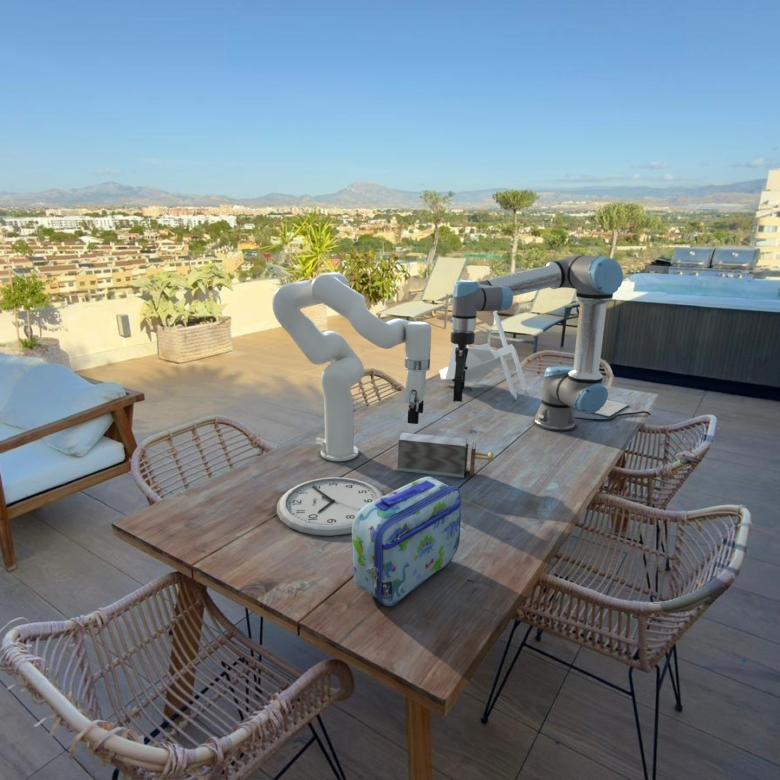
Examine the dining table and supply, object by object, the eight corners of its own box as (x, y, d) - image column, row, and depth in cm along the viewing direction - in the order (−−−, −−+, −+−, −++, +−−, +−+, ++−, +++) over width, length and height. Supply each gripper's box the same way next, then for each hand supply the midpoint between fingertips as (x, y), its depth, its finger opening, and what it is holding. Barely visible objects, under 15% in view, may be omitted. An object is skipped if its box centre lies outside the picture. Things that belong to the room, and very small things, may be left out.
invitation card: (608, 416, 214) (573, 407, 224) (608, 416, 214) (573, 408, 224) (628, 404, 229) (594, 396, 238) (628, 405, 229) (594, 397, 238)
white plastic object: (461, 429, 252) (437, 405, 227) (444, 352, 274) (420, 323, 250) (535, 404, 240) (518, 377, 215) (510, 326, 262) (492, 293, 237)
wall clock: (392, 527, 129) (268, 531, 127) (391, 533, 130) (269, 537, 127) (383, 473, 158) (282, 475, 155) (383, 478, 158) (282, 480, 156)
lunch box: (381, 619, 101) (382, 525, 95) (345, 592, 109) (344, 503, 102) (464, 563, 119) (469, 480, 113) (428, 543, 126) (432, 464, 120)
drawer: (491, 470, 163) (494, 444, 160) (491, 477, 159) (493, 450, 156) (412, 462, 168) (413, 436, 165) (410, 468, 163) (411, 442, 161)
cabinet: (465, 469, 166) (467, 438, 162) (463, 477, 160) (465, 446, 157) (401, 462, 169) (402, 432, 166) (397, 470, 164) (398, 439, 161)
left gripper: (409, 356, 164) (408, 407, 169) (399, 370, 148) (398, 426, 153) (433, 358, 163) (431, 409, 168) (425, 372, 147) (423, 429, 152)
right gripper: (453, 323, 177) (450, 383, 183) (447, 337, 153) (444, 405, 160) (476, 324, 176) (471, 385, 182) (473, 339, 152) (468, 407, 158)
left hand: (415, 417), depth 161 cm, fingers open, 9 cm apart
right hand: (458, 394), depth 171 cm, fingers open, 13 cm apart
